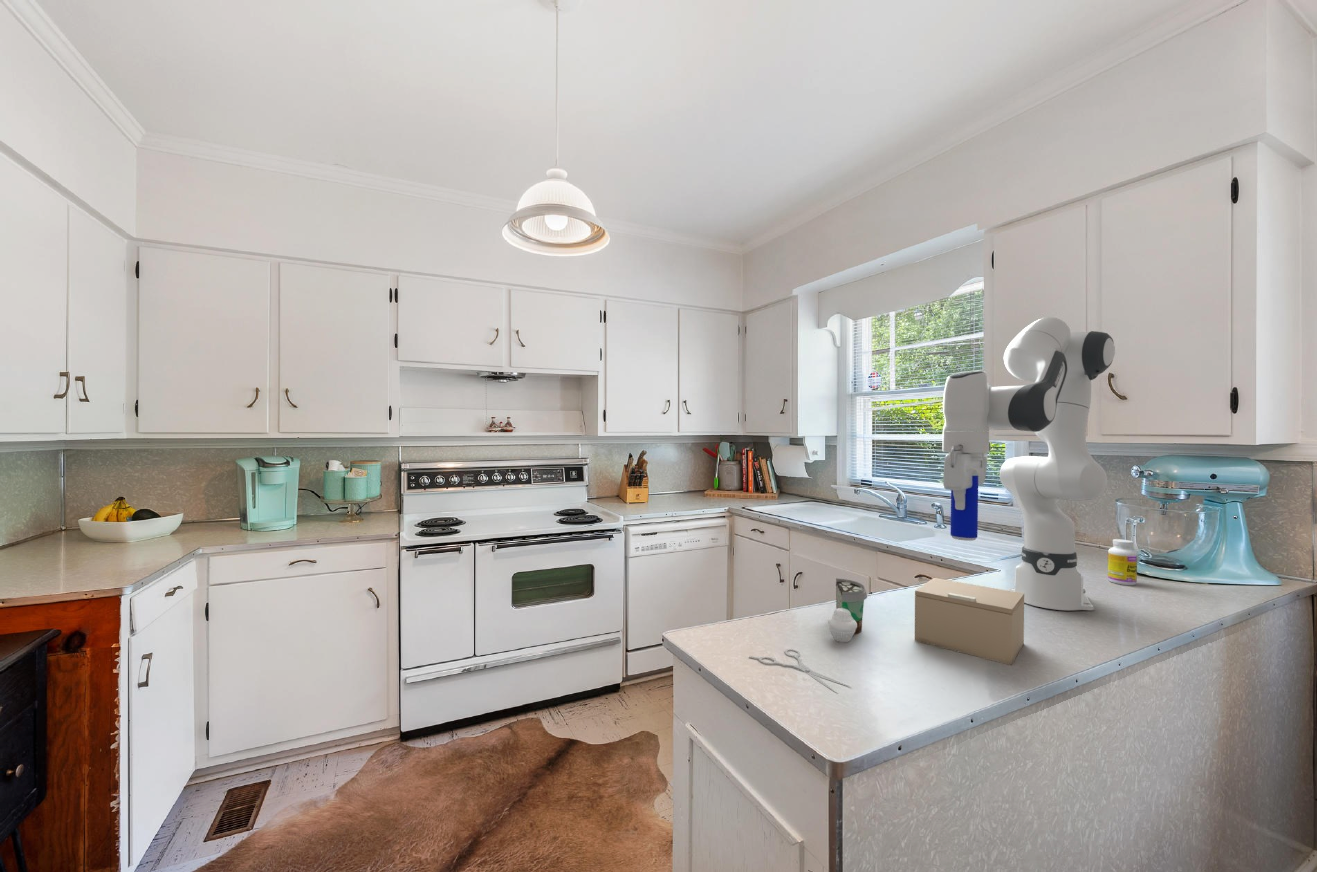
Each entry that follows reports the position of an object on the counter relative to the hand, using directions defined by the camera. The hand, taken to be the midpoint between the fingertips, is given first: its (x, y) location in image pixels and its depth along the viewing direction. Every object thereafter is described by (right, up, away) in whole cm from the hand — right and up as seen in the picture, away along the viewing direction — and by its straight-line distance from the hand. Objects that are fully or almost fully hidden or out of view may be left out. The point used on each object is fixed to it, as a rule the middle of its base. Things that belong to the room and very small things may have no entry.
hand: (964, 507), depth 118 cm
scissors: (-39, -30, -14) cm, 51 cm away
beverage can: (0, -7, 0) cm, 7 cm away
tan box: (0, -29, -1) cm, 29 cm away
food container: (-22, -29, +7) cm, 37 cm away
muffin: (-26, -29, +1) cm, 40 cm away
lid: (0, -19, -1) cm, 19 cm away
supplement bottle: (+73, -29, +45) cm, 91 cm away
